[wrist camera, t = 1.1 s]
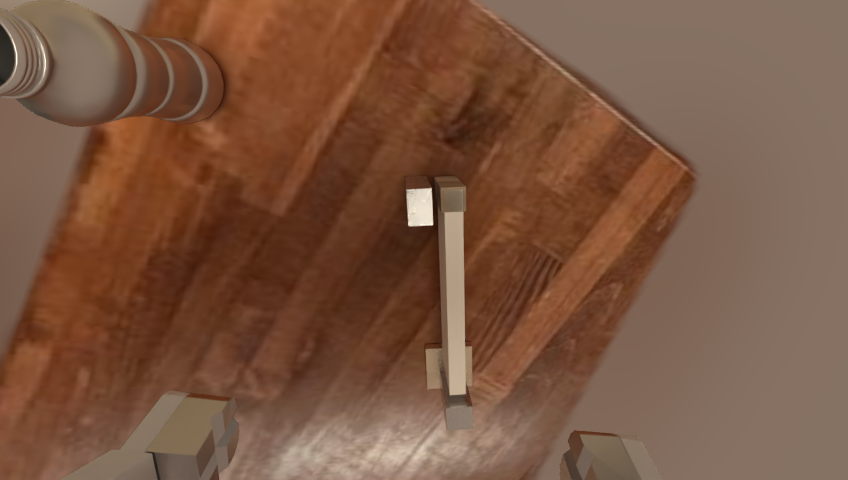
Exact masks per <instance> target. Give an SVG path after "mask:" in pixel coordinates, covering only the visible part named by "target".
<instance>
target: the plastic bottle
mask: <svg viewBox="0 0 848 480" xmlns="http://www.w3.org/2000/svg"><path fill="white" fill-rule="evenodd" d="M223 91H224V84H223V78H222V74H221V71H220V69H219V67H218V65H217V64H216V62H215V61H214V59H213V58H212V57H211V56H210V55H209V54H208V53H206V52H205V51H204V50H203V49H201V48H200V47H198V46H197V45H195V44H193V43H191V42H189V41H187V40H183V39H177V38H152V37H146V36H142V35H140V34H137V33H134V32H132V31H130V30H127V29H124V28H123V27H121V26H119V25H117V24H116V23H114V22H112V21H110V20H108V19H107V18H105V17H103V16H101V15H100V14H98V13H96V12H94V11H92V10H89V9H87V8H85V7H83V6H80V5H78V4H76V3H73V2H69V1H64V0H38V1H32V2H27V3H24V4H22V5H20V6H18V7H15V8H14V9H13V10H11V11H8V10H5V9H1V8H0V97H3V98H8V99H16V100H17V101H18V102H19V103H20V104H22V105H23V106H24V107H25V108H26V109H28V110H29V111H31V112H33V113H34V114H36V115H38V116H40V117H43V118H45V119H48V120H51V121H53V122H57V123H59V124H63V125H68V126H75V127H85V126H92V125H98V124H104V123H107V122H111V121H115V120H119V119H123V118H128V117H137V116H149V117H156V118H160V119H162V120H166V121H170V122H175V123H180V124H189V123H194V122H197V121H199V120H202V119H204V118H206V117H208V116H209V115H211V114H212V113H213V112H214V111H215V110H216V109H217V108H218V106H219V104H220V103H221V100H222V97H223Z"/></svg>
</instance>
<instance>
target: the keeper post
mask: <svg viewBox="0 0 848 480" xmlns="http://www.w3.org/2000/svg"><path fill="white" fill-rule="evenodd" d="M405 184H406V202H407V215H408V227H410V226H428V225H433V206H432V188H431V185H430V183H429V181H428V179H427V177H426V175H419V176H405Z"/></svg>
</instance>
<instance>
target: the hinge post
mask: <svg viewBox="0 0 848 480" xmlns="http://www.w3.org/2000/svg"><path fill="white" fill-rule="evenodd" d="M425 353H426V375H427V389H438V388H440V389H441V396H442V403H443V409H444V416H445V422H446V429H447V430H460V429H473V406H472V402H471V398H470V395H469V391H468V387H467V386H472V345H471V342H465V373H466V394H461V395H449V389H448V384H447V378H446V373H445V367H444V362H443V356H442V343H440V344H425Z"/></svg>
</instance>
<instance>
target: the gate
mask: <svg viewBox="0 0 848 480" xmlns="http://www.w3.org/2000/svg"><path fill="white" fill-rule="evenodd" d="M434 190H435V200H436V202H437V204H438V232H439V263H440V294H441V325H442V356H443V362H444V367H445V373H446V378H447V384H448V389H449V395H461V394H466V373H465V305H464V238H463V212H464V211H466V186H465V185H464V184H463V183H462V182H461V181H460V180H459V179H458V178H457V177H456V176H442V177H434Z"/></svg>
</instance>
